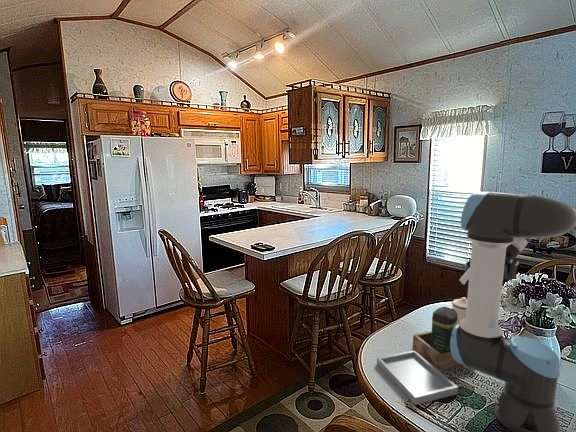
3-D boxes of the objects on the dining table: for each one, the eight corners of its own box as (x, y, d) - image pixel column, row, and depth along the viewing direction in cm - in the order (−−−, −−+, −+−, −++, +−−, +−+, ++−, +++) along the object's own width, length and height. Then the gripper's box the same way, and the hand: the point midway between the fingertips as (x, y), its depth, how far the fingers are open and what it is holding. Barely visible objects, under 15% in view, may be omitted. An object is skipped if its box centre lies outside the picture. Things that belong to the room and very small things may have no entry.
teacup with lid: (472, 329, 152) (474, 303, 150) (449, 323, 157) (451, 299, 155) (474, 317, 162) (476, 294, 160) (452, 313, 167) (454, 290, 165)
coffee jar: (448, 365, 127) (452, 318, 123) (426, 357, 132) (429, 311, 128) (457, 354, 134) (461, 308, 130) (436, 346, 139) (439, 302, 135)
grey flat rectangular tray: (457, 394, 112) (458, 387, 112) (414, 404, 107) (415, 397, 107) (414, 356, 133) (414, 350, 132) (376, 363, 128) (377, 357, 128)
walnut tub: (473, 363, 128) (474, 348, 127) (439, 371, 123) (440, 355, 122) (444, 342, 142) (445, 328, 141) (412, 348, 138) (413, 334, 136)
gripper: (547, 262, 123) (509, 308, 122) (488, 244, 146) (456, 282, 145) (537, 249, 120) (498, 296, 119) (479, 232, 144) (446, 271, 142)
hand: (475, 288), depth 132 cm, fingers open, 13 cm apart
